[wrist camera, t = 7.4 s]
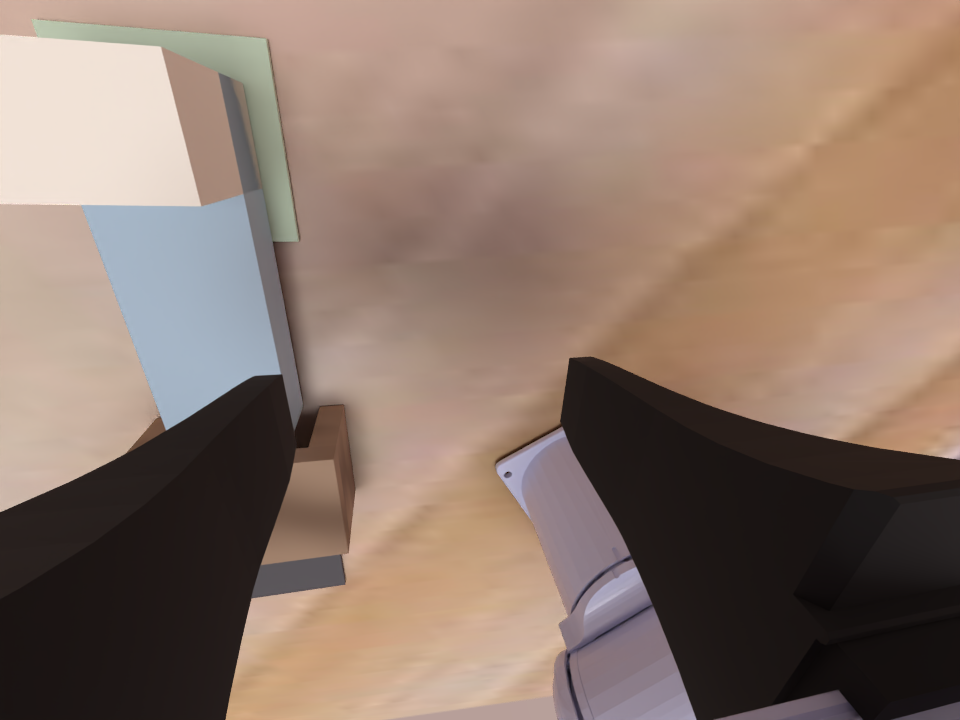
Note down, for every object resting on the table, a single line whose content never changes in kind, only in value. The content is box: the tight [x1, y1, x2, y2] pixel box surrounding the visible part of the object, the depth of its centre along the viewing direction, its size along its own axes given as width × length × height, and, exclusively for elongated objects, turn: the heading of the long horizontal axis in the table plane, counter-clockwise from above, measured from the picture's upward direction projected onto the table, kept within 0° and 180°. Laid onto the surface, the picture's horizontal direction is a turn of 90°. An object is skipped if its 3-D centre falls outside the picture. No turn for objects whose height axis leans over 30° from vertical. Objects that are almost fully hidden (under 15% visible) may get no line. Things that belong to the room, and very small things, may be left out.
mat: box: [31, 19, 300, 242], centre depth 16 cm, size 7×7×1 cm
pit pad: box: [251, 554, 346, 598], centre depth 26 cm, size 6×6×1 cm
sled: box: [0, 35, 303, 431], centre depth 15 cm, size 14×5×6 cm, turn 178°
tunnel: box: [127, 405, 355, 565], centre depth 20 cm, size 6×9×4 cm
